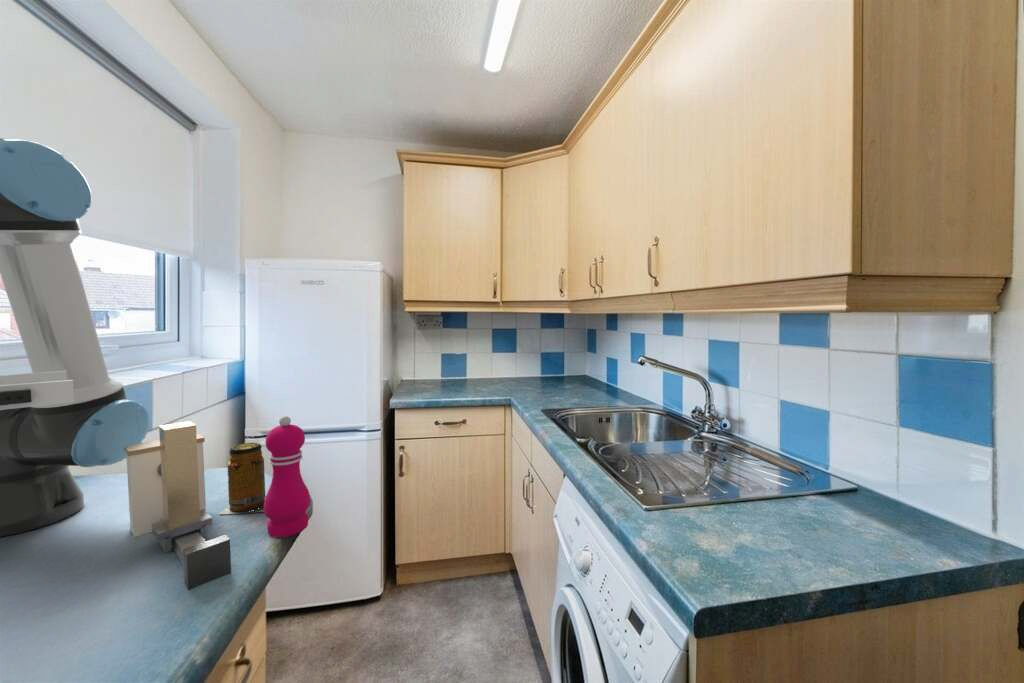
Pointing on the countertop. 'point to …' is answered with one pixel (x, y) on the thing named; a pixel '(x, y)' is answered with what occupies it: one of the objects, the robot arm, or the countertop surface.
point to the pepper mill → (286, 481)
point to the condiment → (246, 479)
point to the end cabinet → (152, 484)
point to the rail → (202, 557)
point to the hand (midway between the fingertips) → (70, 385)
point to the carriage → (179, 485)
